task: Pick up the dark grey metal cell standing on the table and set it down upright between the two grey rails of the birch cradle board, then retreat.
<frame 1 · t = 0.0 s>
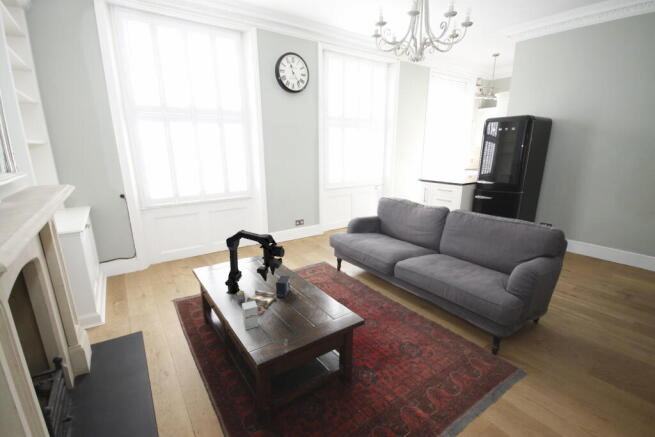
hand: (269, 278, 189), 15 cm above the table, fingers open, 9 cm apart
cradle: (261, 300, 191), on the table
supplement box: (251, 325, 166), on the table
small box: (283, 293, 200), on the table
cell: (241, 303, 187), on the table
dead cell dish: (257, 311, 179), on the table
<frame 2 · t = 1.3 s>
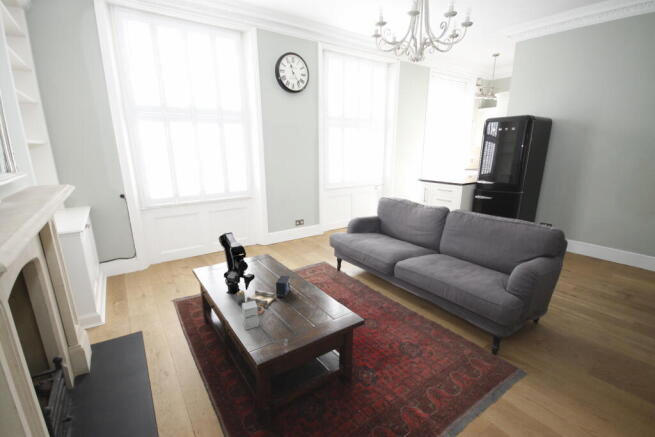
hand: (240, 288, 185), 10 cm above the table, fingers open, 9 cm apart
nothing on the table moved.
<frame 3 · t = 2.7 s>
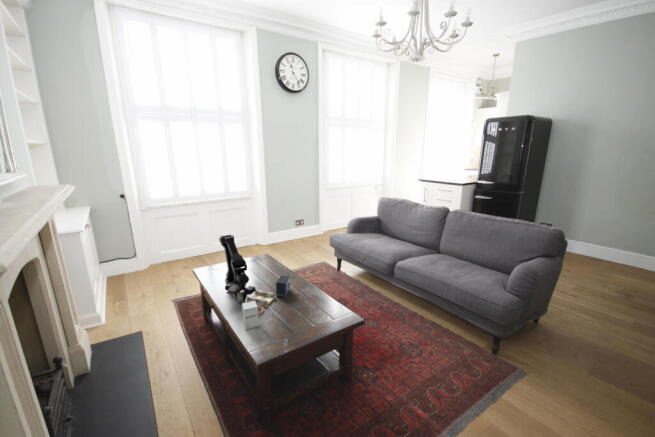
hand: (241, 300, 187), 2 cm above the table, fingers closed on cell, 4 cm apart
cell: (241, 303, 187), on the table, touching gripper
everything else where it was.
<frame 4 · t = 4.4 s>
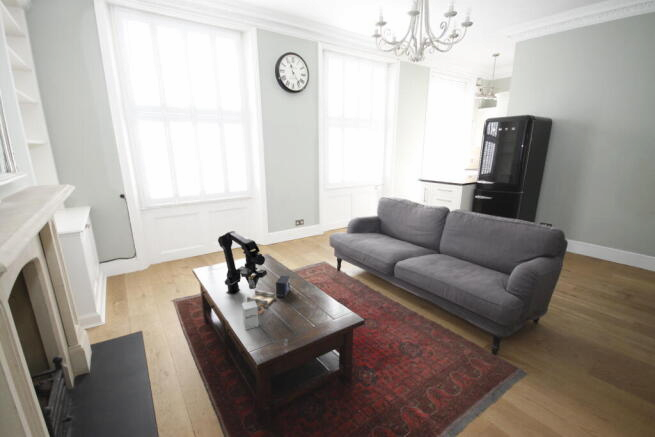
hand: (252, 284, 186), 12 cm above the table, fingers closed on cell, 4 cm apart
cell: (252, 287, 186), point 10 cm above the table, touching gripper
everything else where it was.
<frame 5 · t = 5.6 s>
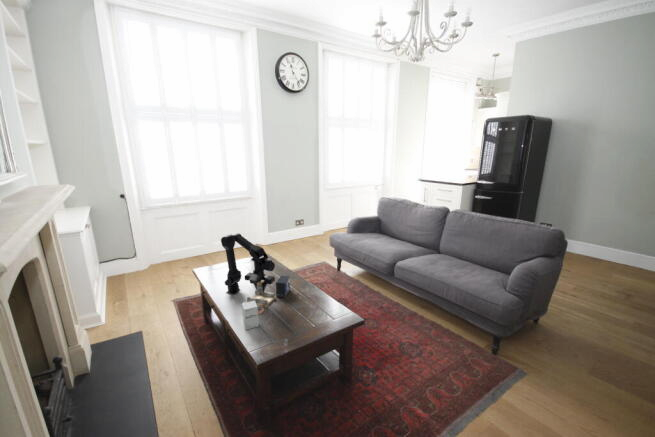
hand: (260, 290, 189), 7 cm above the table, fingers closed on cell, 4 cm apart
cell: (260, 293, 189), point 5 cm above the table, touching gripper
everything else where it was.
when the fingers open (5 cm above the table, at t = 6.4 s): cell drops 1 cm, resting on cradle.
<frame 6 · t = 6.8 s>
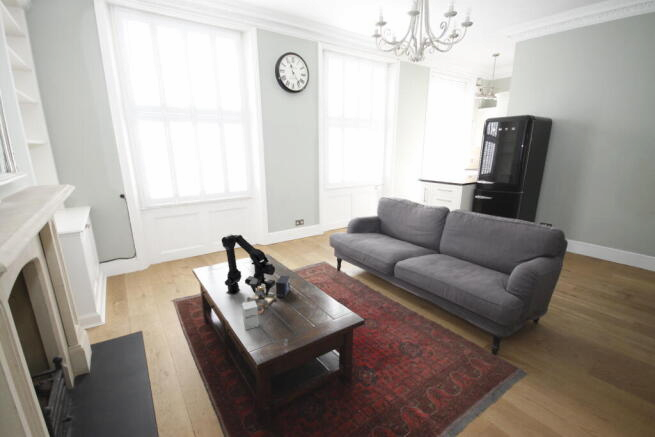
hand: (260, 294, 189), 5 cm above the table, fingers open, 9 cm apart
cell: (261, 299, 190), point 1 cm above the table, touching cradle
everything else where it was.
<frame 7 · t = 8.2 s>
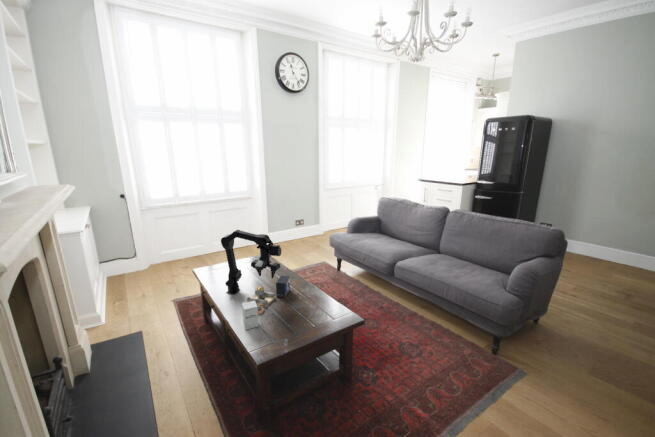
hand: (266, 277, 194), 13 cm above the table, fingers open, 9 cm apart
nothing on the table moved.
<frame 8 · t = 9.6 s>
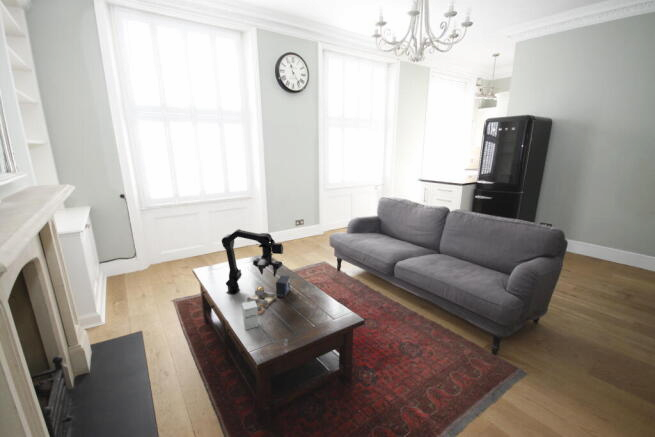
hand: (268, 275, 196), 13 cm above the table, fingers open, 9 cm apart
nothing on the table moved.
at the end: cell inside the target area on the cradle (0.1 cm from its centre), point 1.2 cm above the cradle's base; cell tilted 0°; the gripper is holding nothing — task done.
